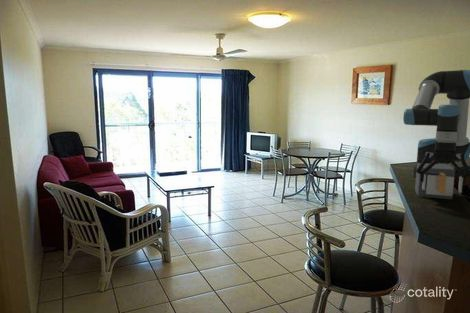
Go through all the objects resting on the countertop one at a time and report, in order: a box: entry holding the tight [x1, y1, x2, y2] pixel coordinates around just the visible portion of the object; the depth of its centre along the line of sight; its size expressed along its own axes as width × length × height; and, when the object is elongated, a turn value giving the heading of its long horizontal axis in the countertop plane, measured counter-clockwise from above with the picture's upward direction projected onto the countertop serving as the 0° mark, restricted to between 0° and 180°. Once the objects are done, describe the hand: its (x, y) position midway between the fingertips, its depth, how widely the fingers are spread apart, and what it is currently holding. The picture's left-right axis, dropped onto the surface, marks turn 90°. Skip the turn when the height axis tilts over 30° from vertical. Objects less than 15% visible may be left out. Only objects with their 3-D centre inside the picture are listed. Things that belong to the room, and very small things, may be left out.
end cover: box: [426, 172, 455, 196], centre depth 151 cm, size 19×10×10 cm, turn 158°
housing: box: [414, 162, 456, 200], centre depth 163 cm, size 14×14×14 cm
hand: (441, 190), depth 145 cm, fingers open, 13 cm apart
